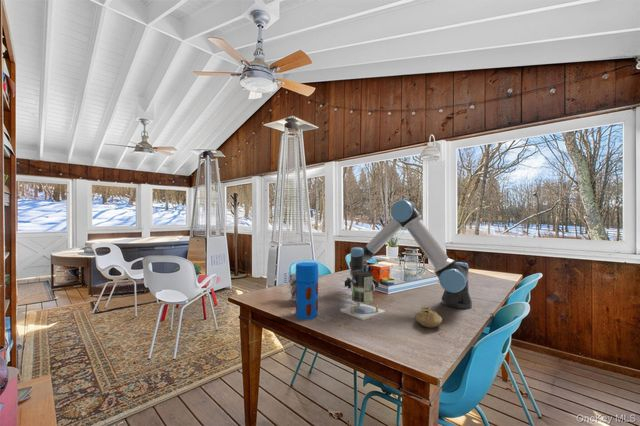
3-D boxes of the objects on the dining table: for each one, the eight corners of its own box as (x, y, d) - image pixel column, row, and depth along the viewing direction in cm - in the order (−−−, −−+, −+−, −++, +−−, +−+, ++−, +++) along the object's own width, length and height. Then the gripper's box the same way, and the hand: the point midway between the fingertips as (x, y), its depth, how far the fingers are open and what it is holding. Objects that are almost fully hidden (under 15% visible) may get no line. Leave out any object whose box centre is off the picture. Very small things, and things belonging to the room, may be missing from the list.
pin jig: (385, 312, 146) (385, 304, 146) (363, 320, 136) (363, 311, 136) (362, 304, 158) (362, 297, 158) (340, 311, 148) (340, 303, 148)
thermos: (321, 313, 144) (321, 263, 144) (312, 321, 135) (312, 266, 134) (302, 310, 149) (302, 261, 149) (291, 317, 139) (291, 265, 139)
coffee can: (353, 303, 142) (353, 274, 142) (350, 297, 152) (350, 270, 152) (374, 303, 142) (374, 274, 142) (370, 297, 152) (370, 270, 152)
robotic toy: (304, 296, 174) (304, 271, 174) (314, 305, 158) (314, 277, 158) (283, 298, 170) (283, 272, 170) (291, 308, 153) (291, 279, 153)
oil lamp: (432, 318, 139) (432, 301, 139) (447, 331, 124) (447, 312, 124) (409, 318, 138) (409, 301, 138) (421, 331, 123) (421, 312, 123)
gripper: (378, 284, 165) (386, 296, 142) (338, 284, 165) (339, 295, 143) (378, 271, 165) (386, 280, 142) (338, 270, 165) (340, 280, 143)
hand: (363, 288), depth 143 cm, fingers closed on coffee can, 10 cm apart
